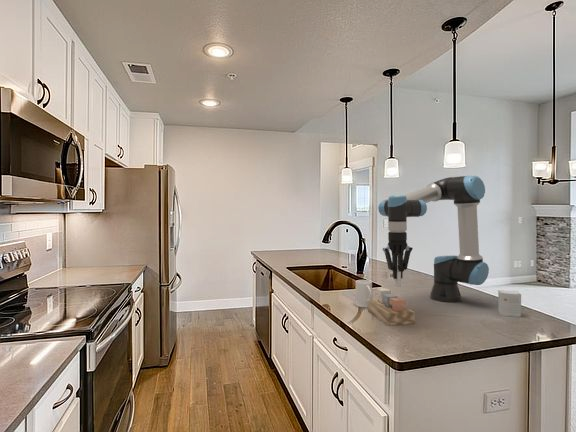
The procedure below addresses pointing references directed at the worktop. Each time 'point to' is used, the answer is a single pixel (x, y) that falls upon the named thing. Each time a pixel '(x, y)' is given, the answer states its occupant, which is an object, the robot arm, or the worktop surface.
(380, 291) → the ivory key
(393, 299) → the terracotta key
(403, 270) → the robot arm
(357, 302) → the mug
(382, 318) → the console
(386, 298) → the slate key
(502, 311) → the small box
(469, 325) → the worktop surface
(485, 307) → the worktop surface
